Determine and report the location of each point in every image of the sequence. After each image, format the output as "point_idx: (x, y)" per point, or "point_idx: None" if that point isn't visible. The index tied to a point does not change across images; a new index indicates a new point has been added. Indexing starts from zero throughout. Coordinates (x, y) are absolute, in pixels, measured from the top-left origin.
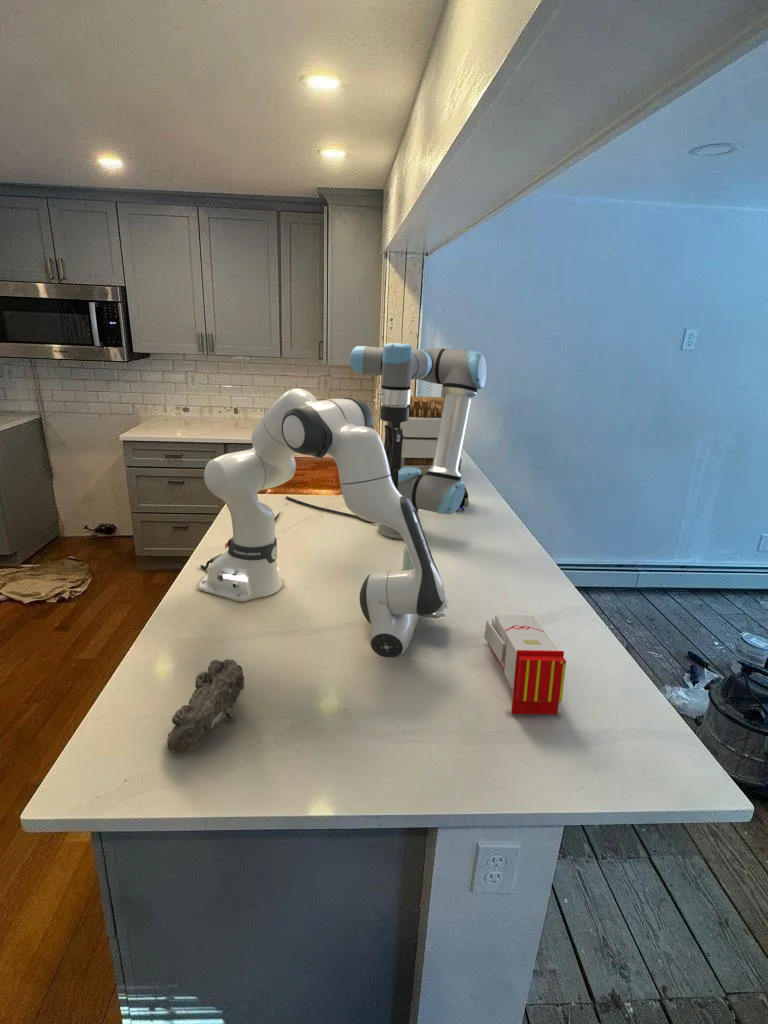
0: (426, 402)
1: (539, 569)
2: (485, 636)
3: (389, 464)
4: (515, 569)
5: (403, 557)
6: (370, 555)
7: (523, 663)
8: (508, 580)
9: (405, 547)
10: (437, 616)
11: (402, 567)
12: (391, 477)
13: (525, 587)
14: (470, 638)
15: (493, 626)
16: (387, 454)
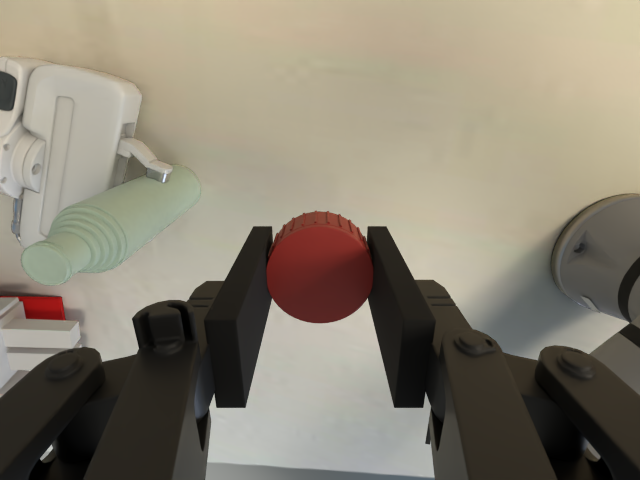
0: None
1: (344, 455)
2: (9, 300)
3: (180, 379)
4: (349, 422)
5: (91, 198)
6: (483, 142)
7: None
8: (305, 397)
9: (76, 214)
10: (11, 229)
11: (118, 189)
12: (196, 306)
13: (275, 413)
14: (81, 275)
15: (56, 323)
16: (460, 467)
